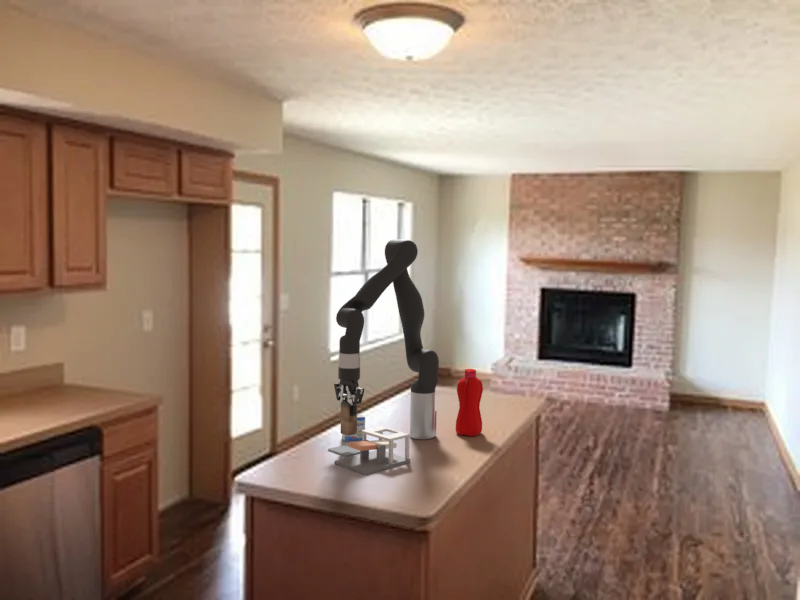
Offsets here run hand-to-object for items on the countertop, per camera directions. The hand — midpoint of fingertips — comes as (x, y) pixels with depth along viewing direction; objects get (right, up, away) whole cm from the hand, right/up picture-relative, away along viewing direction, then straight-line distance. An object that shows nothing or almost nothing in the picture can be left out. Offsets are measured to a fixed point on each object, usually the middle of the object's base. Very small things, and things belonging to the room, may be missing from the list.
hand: (348, 414), depth 248 cm
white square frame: (+9, -14, -13) cm, 21 cm away
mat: (0, -13, +1) cm, 13 cm away
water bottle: (+44, -12, +26) cm, 52 cm away
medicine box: (+1, -12, +16) cm, 20 cm away
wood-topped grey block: (0, -7, +1) cm, 7 cm away
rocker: (+9, -8, -13) cm, 18 cm away
